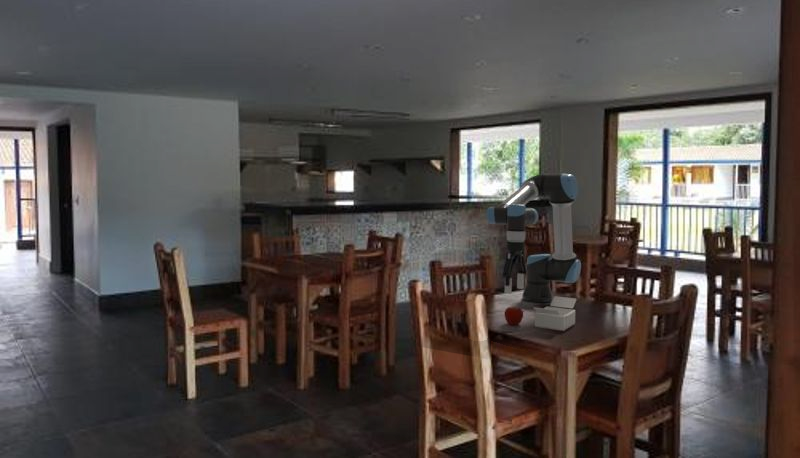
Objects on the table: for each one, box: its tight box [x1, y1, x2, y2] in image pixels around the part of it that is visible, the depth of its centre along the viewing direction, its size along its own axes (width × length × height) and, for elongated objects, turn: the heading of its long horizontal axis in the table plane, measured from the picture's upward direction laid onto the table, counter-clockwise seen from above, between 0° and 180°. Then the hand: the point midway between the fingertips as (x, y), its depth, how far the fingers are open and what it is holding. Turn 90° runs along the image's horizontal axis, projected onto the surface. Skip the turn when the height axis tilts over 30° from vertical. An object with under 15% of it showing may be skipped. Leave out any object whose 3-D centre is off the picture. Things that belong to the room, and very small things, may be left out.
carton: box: [534, 306, 576, 332], centre depth 267 cm, size 15×13×6 cm
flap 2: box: [549, 295, 577, 310], centre depth 276 cm, size 6×10×1 cm
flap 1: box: [532, 306, 561, 316], centre depth 258 cm, size 6×10×1 cm, turn 58°
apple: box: [504, 306, 524, 326], centre depth 268 cm, size 8×8×8 cm
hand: (514, 291), depth 267 cm, fingers open, 13 cm apart
